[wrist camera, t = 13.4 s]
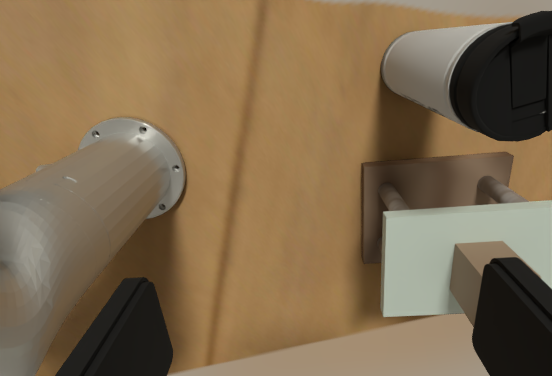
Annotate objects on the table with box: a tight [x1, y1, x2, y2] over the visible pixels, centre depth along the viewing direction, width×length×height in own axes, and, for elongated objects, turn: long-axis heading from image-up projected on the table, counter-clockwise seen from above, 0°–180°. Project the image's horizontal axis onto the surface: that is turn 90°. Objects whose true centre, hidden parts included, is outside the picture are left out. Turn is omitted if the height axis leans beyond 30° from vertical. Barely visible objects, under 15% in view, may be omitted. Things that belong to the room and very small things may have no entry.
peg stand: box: [362, 152, 529, 264], centre depth 37 cm, size 16×13×10 cm
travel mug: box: [381, 11, 552, 141], centre depth 26 cm, size 6×7×20 cm
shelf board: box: [380, 200, 552, 327], centre depth 29 cm, size 16×11×6 cm
